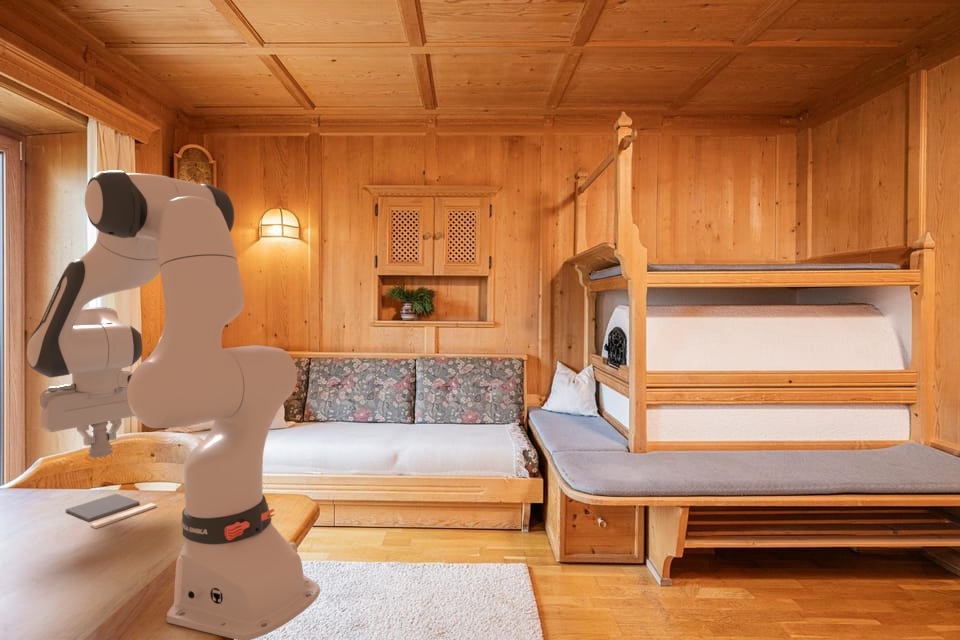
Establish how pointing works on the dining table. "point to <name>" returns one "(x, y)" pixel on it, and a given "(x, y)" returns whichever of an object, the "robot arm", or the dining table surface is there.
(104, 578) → the dining table surface
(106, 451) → the rook chess piece
